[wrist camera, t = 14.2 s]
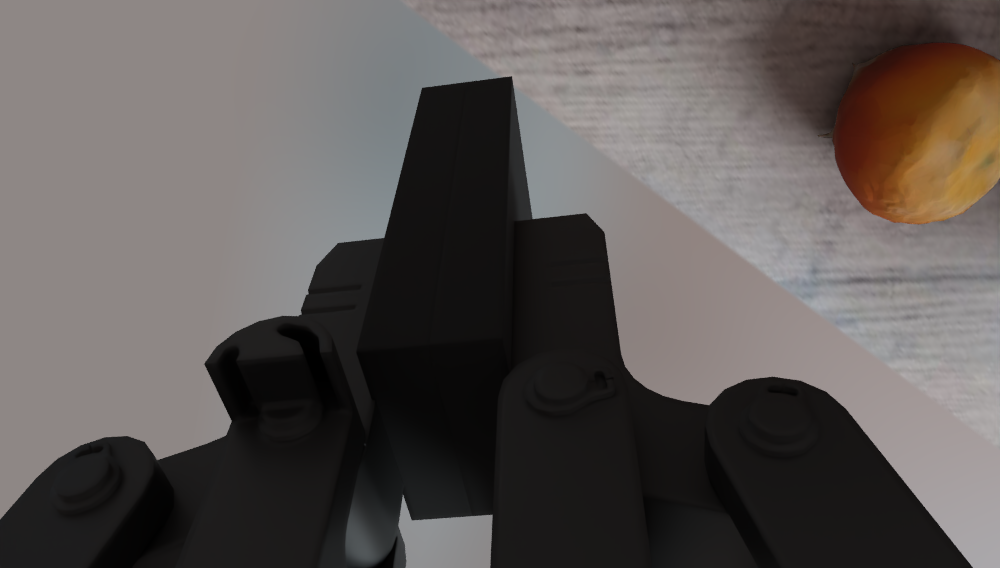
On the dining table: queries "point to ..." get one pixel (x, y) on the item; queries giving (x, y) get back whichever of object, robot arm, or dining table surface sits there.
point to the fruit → (920, 131)
